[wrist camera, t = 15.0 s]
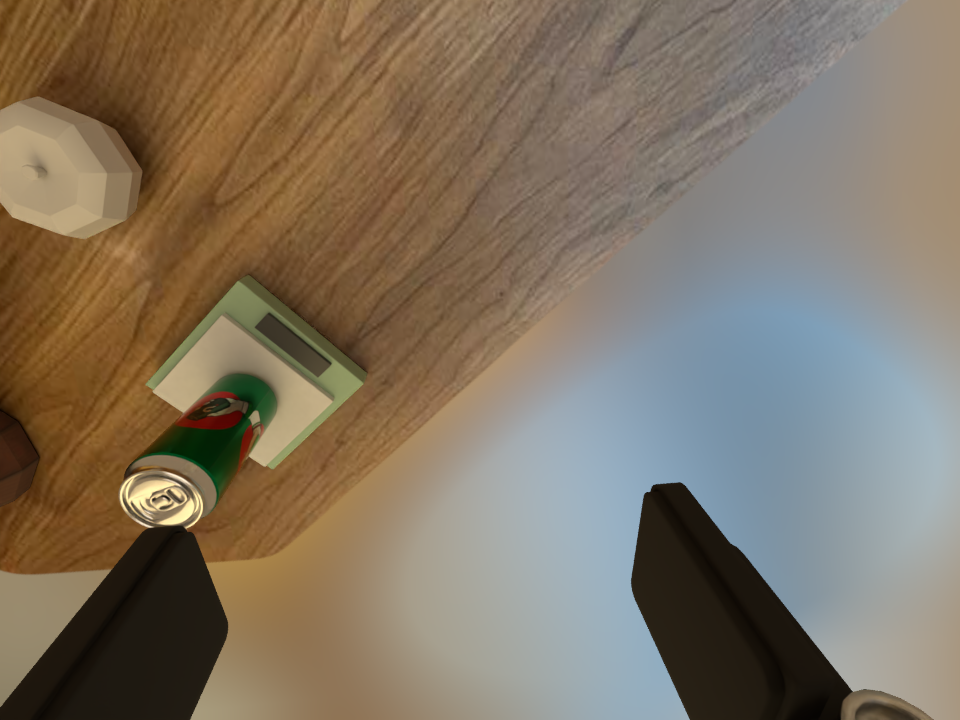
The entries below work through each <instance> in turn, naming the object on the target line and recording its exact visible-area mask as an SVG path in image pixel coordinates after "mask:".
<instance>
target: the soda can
mask: <svg viewBox="0 0 960 720" xmlns="http://www.w3.org/2000/svg"><path fill="white" fill-rule="evenodd" d="M277 406H278V405H277V399H276V396H275V394H274V392H273V391H272V389H271V388H270V387H269V386H268V385H267V384H266V383H265V382H263V381H262V380H260V379H259V378H256V377H254V376H251V375H248V374H240V373H236V374H230V375H226V376H224V377H222V378H220V379H219V380H217V381H216V382H215V383H214V384H213V385H212V386H211V387H210V388H209V389H208V390H207V391H206V392H205V393H204V394H203V395H202V396H201V397H200V398H199V399H198V400H197V401H195V402H194V403H193V404H192V405H191V406H190V407H189V408H188V409H187V410H186V411H185V412H184V413H183V414H182V415H181V416H180V417H179V418H178V419H177V420H176V421H175V422H174V423H173V424H172V425H171V426H170V427H168V428H167V429H166V430H165V431H164V432H163V433H162V434H161V435H160V436H159V437H158V438H157V439H156V440H155V441H154V442H153V443H152V444H151V445H150V446H149V447H148V448H147V449H146V450H145V451H144V452H142V453H141V454H140V455H139V456H138V457H137V458H136V459H135V460H134V461H133V462H132V463H131V464H130V465H129V467H128V468H127V469H126V472H125V474H124V480H123V483H122V484H121V487H120V489H119V501H120V504H121V506H122V508H123V510H124V511H125V512H126V514H127V515H128V516H129V517H130V518H132V519H133V520H134V521H136V522H137V523H139V524H141V525H143V526H145V527H148V528H153V527H164V526H176V525H182V526H183V527H185V528H188V527H190V526H192V525H193V524H194V523H196V522H197V521H198V520H199V519H202V518H204V517H205V516H207V515H208V514H209V513H211V512H212V511H213V509H214V508H215V507H216V505H217V504H218V502H219V501H220V499H221V498H222V496H223V495H224V493H225V492H226V490H227V489H228V487H229V486H230V484H231V483H232V481H233V479H234V478H235V476H236V475H237V473H238V472H239V470H240V469H241V467H242V466H243V464H244V463H245V461H246V460H247V458H248V457H249V455H250V454H251V452H252V451H253V449H254V448H255V446H256V444H257V443H258V441H259V440H260V438H261V437H262V435H263V434H264V432H265V431H266V429H267V428H268V426H269V425H270V423H271V422H272V420H273V419H274V417H275V415H276V412H277Z"/></svg>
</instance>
